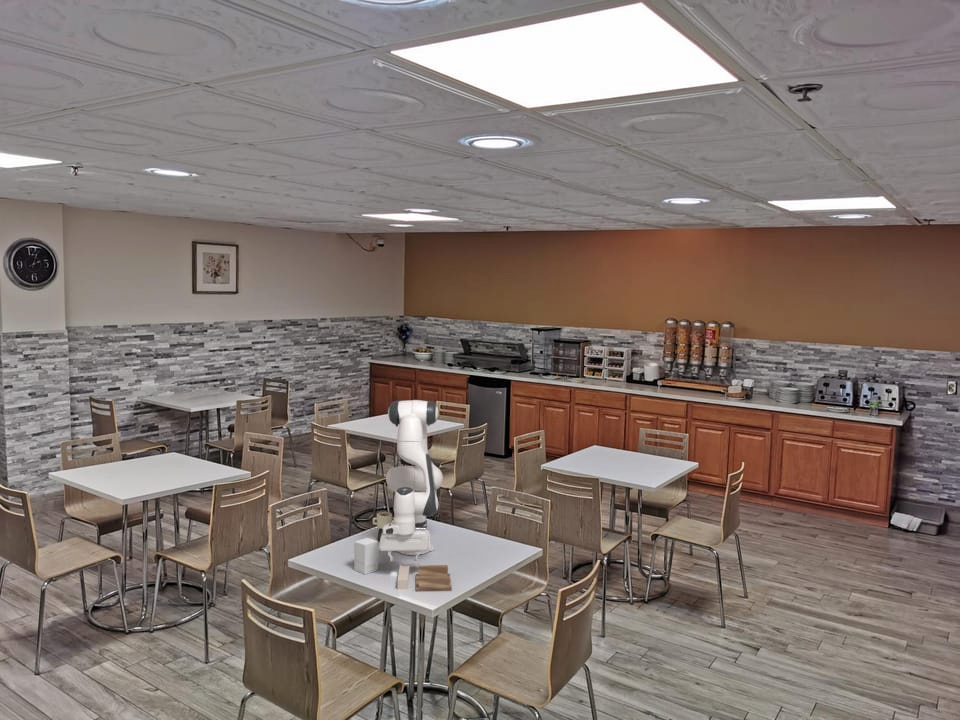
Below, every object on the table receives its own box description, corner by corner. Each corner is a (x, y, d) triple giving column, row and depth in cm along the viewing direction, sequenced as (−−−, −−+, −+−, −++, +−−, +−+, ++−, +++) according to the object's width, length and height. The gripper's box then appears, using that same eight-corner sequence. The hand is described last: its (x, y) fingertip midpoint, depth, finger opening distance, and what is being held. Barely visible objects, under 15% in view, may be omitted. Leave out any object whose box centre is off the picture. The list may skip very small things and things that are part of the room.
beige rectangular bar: (399, 574, 297) (399, 565, 296) (409, 574, 297) (409, 565, 296) (397, 589, 281) (397, 580, 280) (407, 589, 281) (407, 580, 281)
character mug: (395, 538, 343) (395, 511, 342) (395, 542, 336) (396, 515, 335) (372, 538, 341) (372, 511, 340) (372, 543, 334) (372, 516, 333)
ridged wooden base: (415, 576, 294) (416, 565, 293) (449, 576, 295) (449, 564, 295) (416, 591, 279) (416, 579, 278) (451, 590, 280) (451, 578, 280)
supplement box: (378, 570, 300) (378, 541, 299) (364, 574, 295) (365, 545, 294) (367, 565, 305) (367, 537, 304) (353, 570, 300) (353, 541, 299)
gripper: (429, 525, 296) (428, 558, 296) (379, 525, 294) (379, 558, 294) (429, 529, 290) (429, 563, 290) (379, 530, 288) (378, 563, 288)
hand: (403, 560), depth 292 cm, fingers open, 8 cm apart
